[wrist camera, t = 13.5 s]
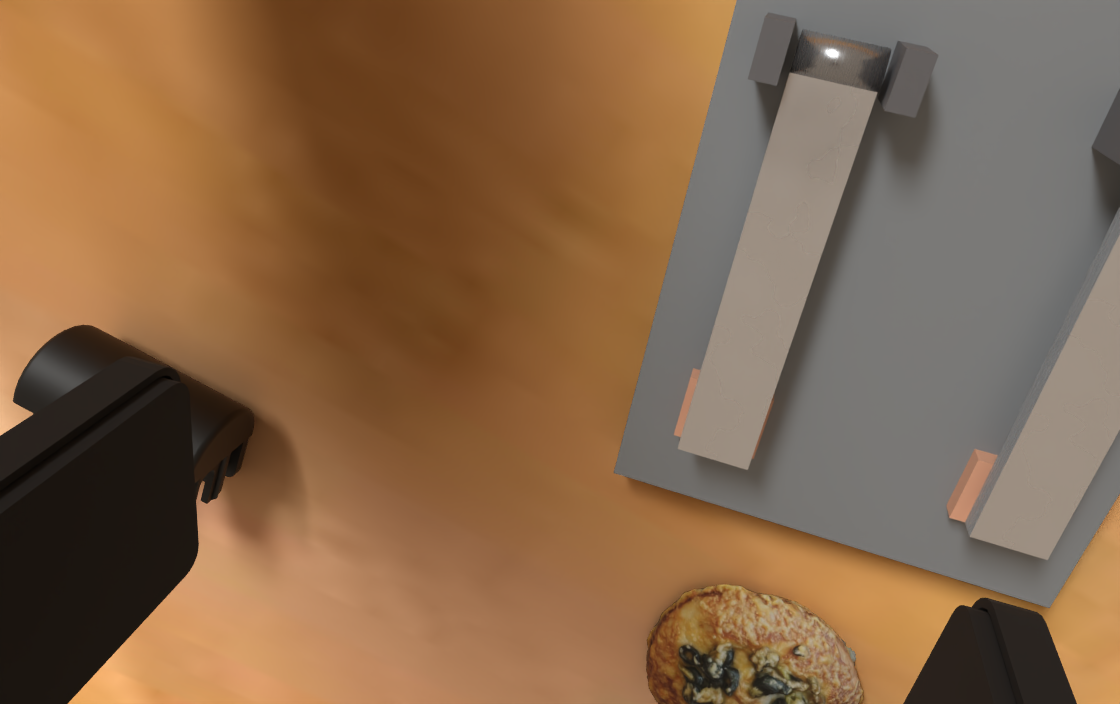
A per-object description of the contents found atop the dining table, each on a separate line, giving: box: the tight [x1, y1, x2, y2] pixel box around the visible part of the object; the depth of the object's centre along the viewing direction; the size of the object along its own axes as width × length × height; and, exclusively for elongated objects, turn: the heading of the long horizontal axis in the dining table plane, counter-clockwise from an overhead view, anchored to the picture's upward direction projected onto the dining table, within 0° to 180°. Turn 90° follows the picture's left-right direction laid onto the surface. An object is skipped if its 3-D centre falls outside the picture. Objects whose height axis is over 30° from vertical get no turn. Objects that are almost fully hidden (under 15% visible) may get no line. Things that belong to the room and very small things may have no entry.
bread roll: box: [646, 584, 863, 704], centre depth 43 cm, size 11×11×5 cm
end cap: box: [13, 325, 254, 504], centre depth 45 cm, size 10×7×7 cm
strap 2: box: [965, 207, 1120, 560], centre depth 30 cm, size 17×3×2 cm, turn 169°
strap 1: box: [678, 29, 891, 470], centre depth 32 cm, size 17×3×2 cm, turn 169°
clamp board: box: [614, 0, 1120, 608], centre depth 32 cm, size 24×20×5 cm
